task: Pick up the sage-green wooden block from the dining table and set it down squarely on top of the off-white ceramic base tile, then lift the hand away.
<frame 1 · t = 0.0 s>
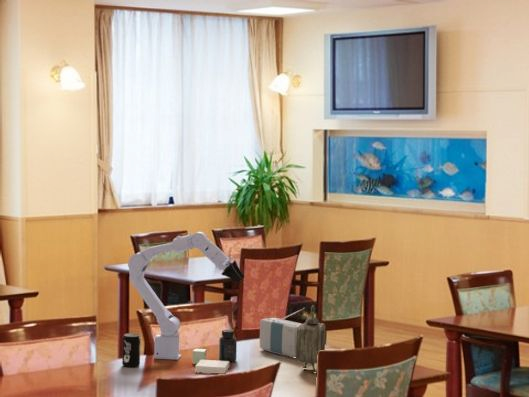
hand: (241, 279, 414), 32 cm above the table, tool tilted 50°, fingers open, 7 cm apart
sage block: (199, 362, 412), on the table
beverage can: (131, 366, 403), on the table
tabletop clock: (309, 370, 405), on the table
supplement bottle: (227, 361, 417), on the table
ceramic base: (212, 371, 401), on the table
stereo radio cassette player: (283, 354, 434), on the table
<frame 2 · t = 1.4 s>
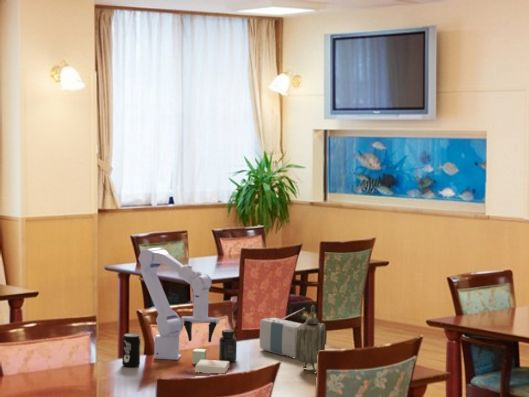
hand: (199, 341, 412), 8 cm above the table, tool pointing down, fingers open, 7 cm apart
nothing on the table moved.
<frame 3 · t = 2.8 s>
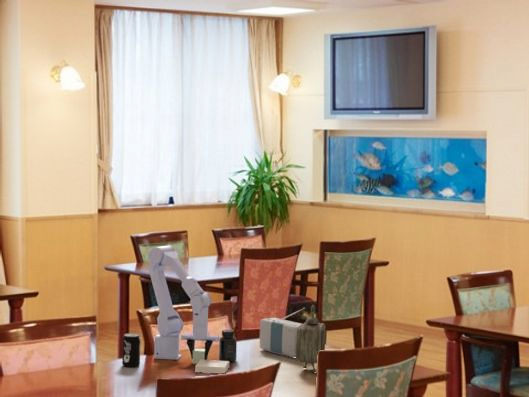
hand: (199, 359, 412), 1 cm above the table, tool pointing down, fingers closed on sage block, 4 cm apart
sage block: (199, 362, 412), on the table, touching gripper
everything else where it was.
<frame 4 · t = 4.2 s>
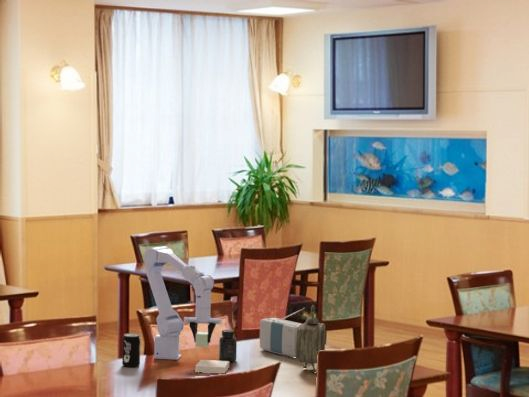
hand: (202, 342, 410), 8 cm above the table, tool pointing down, fingers closed on sage block, 4 cm apart
sage block: (202, 346, 410), point 7 cm above the table, touching gripper
everything else where it was.
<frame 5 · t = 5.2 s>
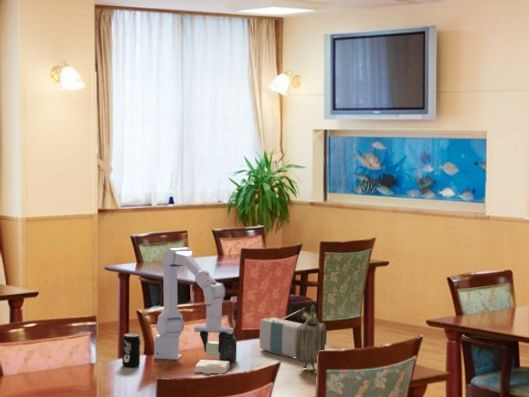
hand: (212, 351, 400), 7 cm above the table, tool pointing down, fingers closed on sage block, 4 cm apart
sage block: (212, 355, 400), point 5 cm above the table, touching gripper
everything else where it was.
when the fingers open (5 cm above the table, at t = 6.0 s): sage block drops 1 cm, point 2 cm above the table.
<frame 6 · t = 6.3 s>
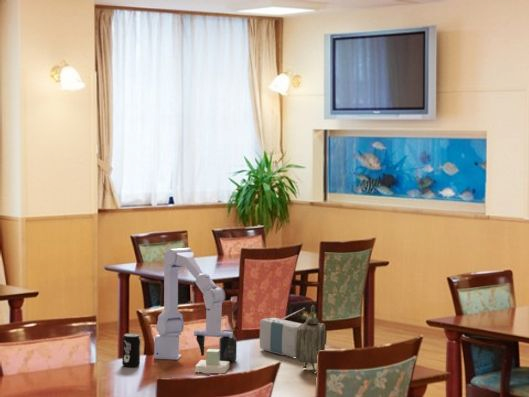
hand: (212, 355, 400), 5 cm above the table, tool pointing down, fingers open, 7 cm apart
sage block: (212, 363, 401), point 2 cm above the table
everything else where it was.
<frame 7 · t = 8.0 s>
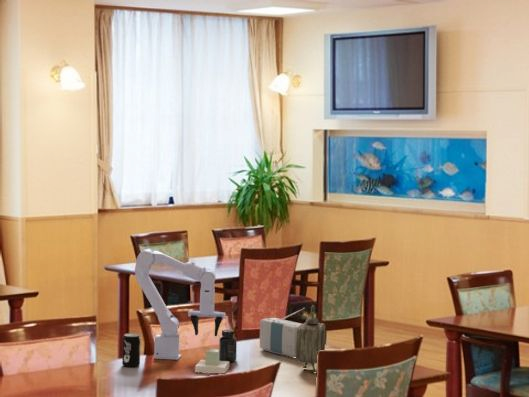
hand: (206, 335, 419), 9 cm above the table, tool pointing down, fingers open, 7 cm apart
sage block: (212, 363, 400), point 2 cm above the table, touching ceramic base
ceramic base: (212, 371, 401), on the table, touching sage block
everything else where it was.
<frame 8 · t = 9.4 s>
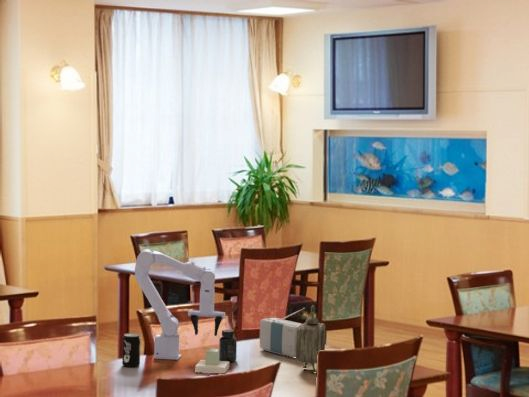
hand: (206, 334, 420), 9 cm above the table, tool pointing down, fingers open, 7 cm apart
nothing on the table moved.
at the end: sage block 0.4 cm off-centre on the ceramic base, point 3.0 cm above the ceramic base's base; sage block tilted 0°; the gripper is holding nothing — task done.
